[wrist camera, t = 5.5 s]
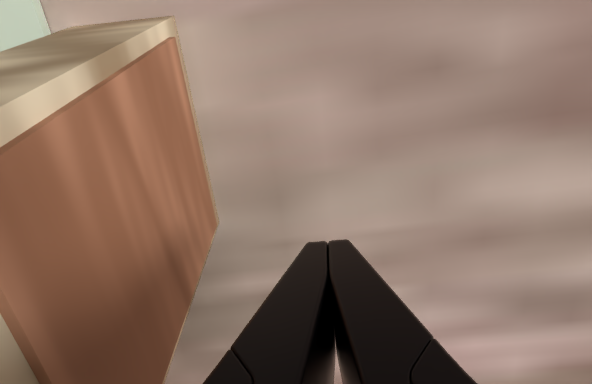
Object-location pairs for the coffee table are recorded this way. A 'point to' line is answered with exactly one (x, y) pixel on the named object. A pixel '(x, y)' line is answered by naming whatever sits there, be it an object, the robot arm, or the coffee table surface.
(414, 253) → the coffee table surface
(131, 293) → the birch tile
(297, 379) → the robot arm
